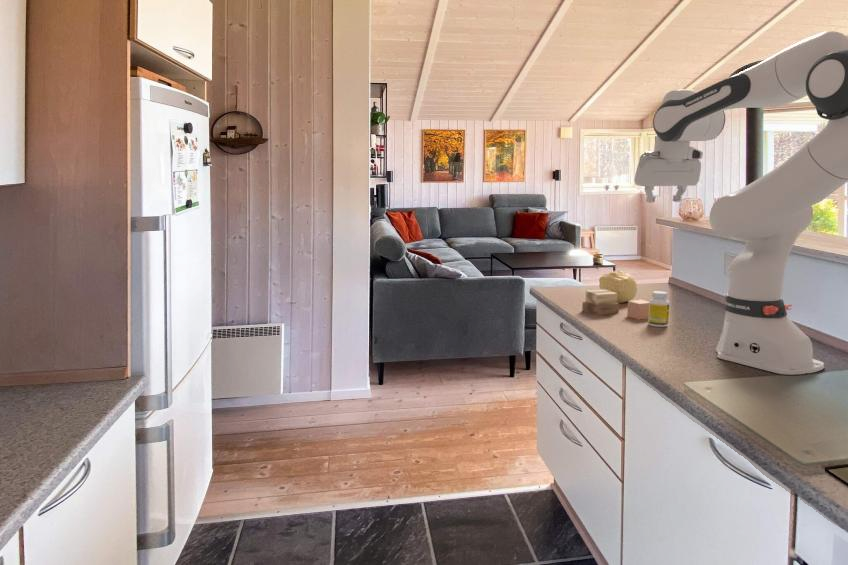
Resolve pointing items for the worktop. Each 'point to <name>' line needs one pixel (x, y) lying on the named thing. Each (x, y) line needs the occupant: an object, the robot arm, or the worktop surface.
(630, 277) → the pale yellow rounded lump
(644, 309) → the cube
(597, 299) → the top block
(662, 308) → the supplement bottle
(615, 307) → the bottom block
